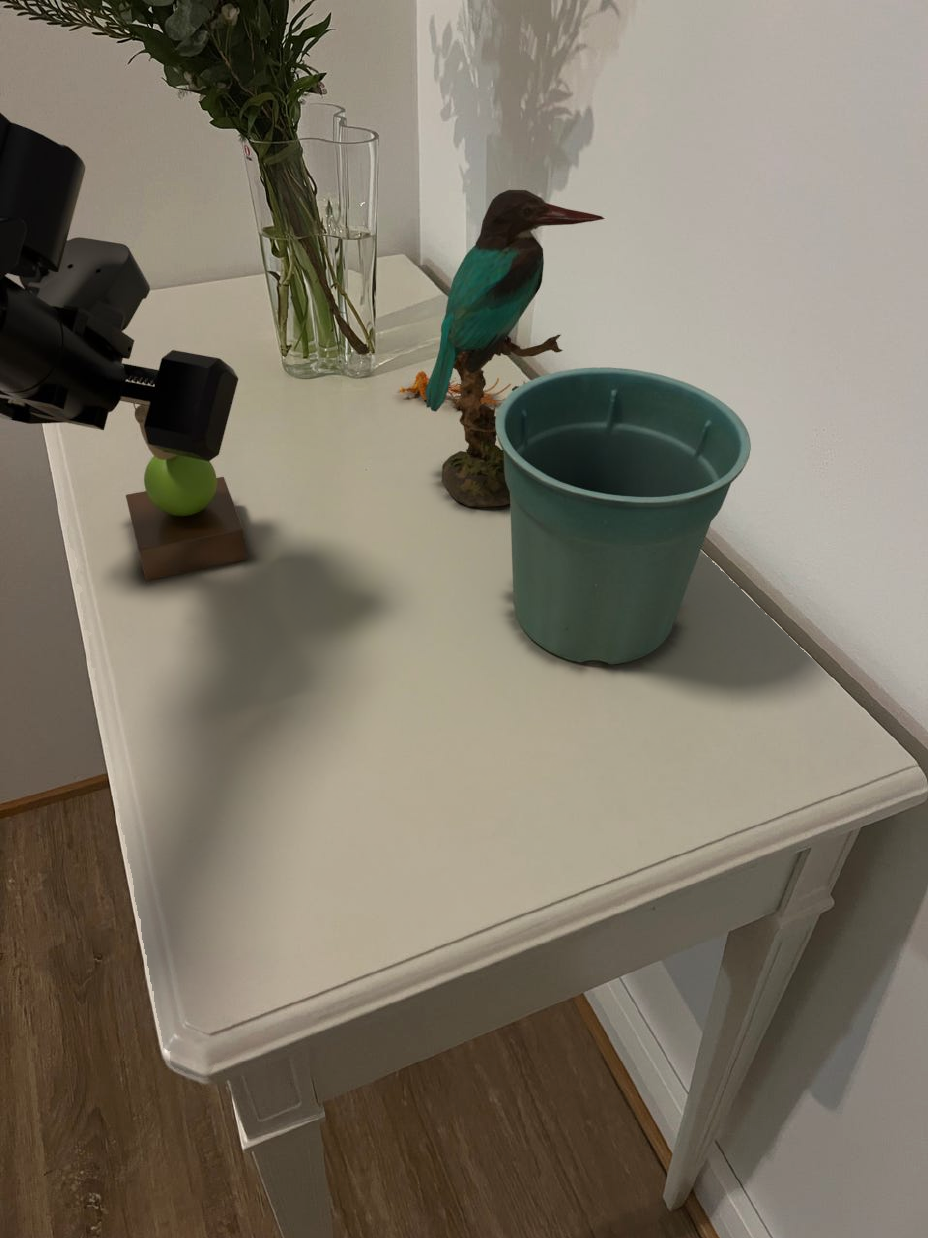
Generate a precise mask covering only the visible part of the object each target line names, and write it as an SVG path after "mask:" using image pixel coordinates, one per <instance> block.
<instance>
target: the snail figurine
mask: <svg viewBox="0 0 928 1238" xmlns="http://www.w3.org/2000/svg"><path fill="white" fill-rule="evenodd" d="M132 404H133V408H134V418H135V421H136V422H137V423H138V424H139V428H140V432H141V435H142V437H143V440H144V442H145V444H146V446H147V448H148V450H149V451H150V452H151V454H152V455H153V456H152V457H151V458H150V460H149V461H148V463H147V465H146V467H145V471H144V476H143V484H144V489H145V491H146V492H147V494H148V496H149V498H150V500H151V501H152V502H153V503H154V505H155V506H157V507H158V508H159V509H160V510H162V511H164V512H166V513H168V514H171V515H175V516H189V515H193V514H196V513H198V512H200V511H202V510H203V509H204V508H206V507H207V506H208V505H209V503H210V502H211V501H212V499H213V497H214V495H215V492H216V487H217V478H218V477H217V472H216V470H215V469H214V465H213V464H212V463H211V460H210V461H204V460H200V459H195V458H190V457H185V456H181V455H176V454H171V453H166V452H163V450H160V449H157V448H155V447H153V446H151V445H149V444H148V441H147V437H146V433H145V428H144V424H145V420H146V416H147V412H148V409H149V406H144V405H138V406H136V404H134V403H132Z"/></svg>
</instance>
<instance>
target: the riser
mask: <svg viewBox="0 0 928 1238" xmlns="http://www.w3.org/2000/svg"><path fill="white" fill-rule="evenodd" d="M216 478H217V487H216V492H215V495H214V497H213V499H212V501H211V502H210V503H209V505H208V506H207V507H206V508H204V509H203V510H202V511H200V512H198V513H196V514H193V515H189V516H175V515H171V514H168V513H166V512H164V511H162V510H160V509H159V508H158V507H157V506H155V505H154V503H153V502H152V501H151V500H150V498H149V496H148V494H147V492H146V490H144V491H139V492H133V493H128V494H126V495H125V499H126V504H127V508H128V512H129V516H130V517H129V518H130V521H131V525H132V529H133V533H134V538H135V543H136V546H137V551H138V556H139V559H140V562H141V565H142V566H141V567H142V570H143V574H144V578H145V580H146V581H152V580H155V579H161V578H165V577H166V578H167V577H169V576H171V577H172V576H175V575H180V574H184V573H189V572H193V571H194V572H195V571H197V570H203V569H208V568H213V567H218V566H221V565H227V564H231V563H236V562H241V561H245V560H248V559H249V554H248V547H247V543H246V542H247V541H246V535H245V529H244V527H243V525H242V521H241V518H240V515H239V513H238V510H237V508H236V506H235V503H234V499H233V498H232V494H231V492H230V489H229V486H228V484H227V481H226V479H225V477H224V476H220V477H216Z"/></svg>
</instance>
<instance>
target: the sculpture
mask: <svg viewBox="0 0 928 1238" xmlns="http://www.w3.org/2000/svg"><path fill="white" fill-rule="evenodd" d="M601 220H605V218H604V217H603V216H602V215H598V214H593V213H590V212H584V211H579V210H575V209H569V208H565V207H561V206H558V205H554V204H551V203H547V202H545V200H544V199H543V198H542V197H540V196H538V195H537V194H535V193H533V192H531V191H529V190H527V189H508V190H505V191H503V192H500V193H498V194H497V195H495V197H494V198H492V201H491V202H490V204H489V206H488V208H487V210H486V213H485V214H484V217H483V219H482V222H481V228H480V234H479V236H478V238H477V240H476V242H475V245H473V246H472V247H471V249H469V251H468V252H467V253H466V255H464V258H463V260H462V261H461V263H460V264H459V267H458V269H457V271H456V273H455V274H454V276H453V279H452V284H451V287H450V290H449V294H448V298H447V302H446V307H445V315H444V316H443V319H442V323H441V325H440V326H441V327H440V334H441V335H440V341H439V348H438V353H437V356H436V360H435V364H434V366H433V370H432V372H431V375H430V377H429V378H430V380H429V382H428V385H427V388H426V392H425V396H426V400H425V402H426V409H427V408H430V410H431V411H432V412H437V411H438V410H439V409H440V407H442V405H443V404H444V402H445V400H446V397H447V394H448V393H447V391H448V388H449V387H450V386H449V383H450V382H451V380H452V376H453V373H454V370H456V372H457V374H458V375H459V377H460V379H461V380H460V382H461V383H460V384H461V385H460V392H461V394H459V396H460V397H458V399H459V400H458V402H456V403H454V405H453V408H454V409H455V410H456V411H457V412H460V413H461V415H460V418H459V420H458V422H459V423H460V424H461V425H462V426H463V431H464V441H465V442H466V443H467V444H468V446H467V449H465V451H464V450H463V451H462V450H459V451H458V452H456V453H454V454H452V455H450V456H449V457H448V458H447V459H446V460H445V461H444V462H443V464H442V466H441V467H442V468H441V483H442V485H443V486H444V488H445V489H446V491H447V492H448V494H449V495H450V497H452V498H453V499H454V500H455V501H456V502H459V503H461V504H463V505H464V506H466V507H475V508H476V507H477V508H480V507H481V508H483V507H484V508H492V507H501V506H502V507H503V506H506V505H508V504H509V505H510V491H509V489H508V486H507V483H506V480H505V471H504V451H503V450H502V448H501V447H499V446H498V445H497V444H496V443H497V433H496V428H495V419H496V415H495V413H496V406H494V407H493V408H491V407H490V406H487V405H485V404H481V402H482V401H481V398H483V397H484V396H485V395H484V392H483V391H484V390H485V389H484V388H486V385H487V382H486V381H487V380H485V379H486V378H485V376H484V373H485V372H484V370H483V368H484V367H485V366H486V365H487V364H488V363H489V362H491V361H492V360H493V357H494V356H495V355H496V356H498V357H500V356H501V357H502V355H503V356H509V355H512V354H514V355H516V356H518V357H522V358H526V357H536V356H538V355H540V354H543V353H546V352H548V351H552V352H554V353H556V354H557V353H561V352H563V349H561V348H560V347H559V344H558V341H557V340H558V339H559V337H561V336H562V334H556V335H555V336H552V337H551V336H550V337H549V338H547V339H546V340H545V341H544V342H542V343H541V344H538V345H534V346H530V347H526V348H521V346H520V345H518V344H516V343H515V342H514V343H513V342H512V338H511V337H510V334H511V332H512V331H513V329H514V328H515V327H516V325H517V324H518V322H519V321H520V319H521V318H522V316H523V314H524V313H525V311H526V310H527V308H528V307H529V305H530V304H531V302H532V301H533V300H534V298H535V296H536V295H537V293H538V292H539V290H540V289H541V286H542V282H543V277H544V276H543V275H544V265H545V260H544V248H543V246H542V245H541V244H540V243H539V241H538V239H537V238H536V237H535V236H534V234H533V233H532V231H533V230H536V229H538V228H539V227H544V226H545V227H547V226H566V225H577V224H583V223H591V222H596V221H601ZM524 383H526V382H525V381H523V384H524ZM518 387H519V385H515V386H514V387H512V389H511V392H513V391H514V390H515V389H516V388H518ZM494 400H495V402H496V400H497V399H494Z"/></svg>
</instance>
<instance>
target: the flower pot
mask: <svg viewBox="0 0 928 1238" xmlns="http://www.w3.org/2000/svg"><path fill="white" fill-rule="evenodd" d="M518 386H519V385H518ZM505 398H506V399H505ZM505 398H504V399H505V400H504V401H501V404H500V405H499V407H498V410H497V411H496V415H495V416H496V419H495V428H496V433H497V435H496V439H497V442H498V443H499V445H500V449H501V450H503V451H504V471H505V480H506V483H507V486H508V489H509V491H510V503H509V506H510V507H509V508H510V535H511V536H510V537H511V566H512V567H511V569H512V595H513V596H512V597H513V598H512V600H513V609H514V615H515V617H516V621H517V622H518V625H519V626H520V628H521V629H522V630H523V632H524V633H525V634H526V635H527V636H528V637H529V638H530V639H531V640H532V641H533V642H534V643H536V644H537V645H539V646H540V647H541V648H543V649H545V650H546V651H548V652H550V653H551V654H553V655H555V656H557V657H561V658H563V659H566V660H569V661H573V662H577V663H583V662H587V661H599V662H604V663H607V664H608V665H619V664H624V663H629V662H633V661H637V660H639V659H641V658H643V657H645V656H648V655H649V654H651V653H652V652H654V651H655V650H657V649H658V648H659V647H661V646H662V645H663V644H664V642H665V641H666V640H667V638H668V637H669V635H670V633H671V632H672V629H673V627H674V624H675V621H676V619H677V616H678V613H679V610H680V607H681V606H682V602H683V599H684V597H685V594H686V591H687V589H688V586H689V583H690V581H691V577H692V575H693V572H694V569H695V567H696V565H697V561H698V558H699V556H700V554H701V553H700V552H701V550H702V547H703V546H704V542H705V539H706V536H707V535H708V531H709V528H710V526H711V524H712V521H713V520H714V519H715V518H716V516H718V514H719V513H720V511H721V509H722V507H723V505H724V502H725V500H726V498H727V495H728V492H729V490H730V487H731V485H732V483H733V482H734V481H735V480H736V479H737V478H738V477H739V476H740V474H742V472H743V470H744V468H745V467H746V465H747V463H748V461H749V458H750V456H751V449H752V447H751V446H752V444H751V443H752V442H751V437H750V434H749V432H748V429H747V427H746V425H745V424H744V421H743V420H742V419H741V418H740V416H739V415H738V414H737V413H736V412H735V411H734V410H733V409H732V408H731V407H730V406H728V405H727V404H726V403H724V402H723V401H722V400H720V399H719V398H717V397H716V396H715V395H712V394H711V393H710V392H707V391H706V390H704V389H702V388H699V387H697V386H695V385H693V384H690V383H688V382H685V381H683V380H680V379H677V378H673V377H670V376H666V375H663V374H658V373H654V372H648V371H643V370H638V369H631V368H624V367H623V368H622V367H621V368H620V367H607V366H605V367H594V366H593V367H583V368H582V367H581V368H572V369H566V370H561V371H555V372H552V373H548V374H543V375H541V376H538V377H535V378H533V379H530V380H529V381H527V382H525V383H524V382H523V384H522V385H520V386H519V387H518V388H516V389H515V390H514V391H511V392H510V393H509V394H508V395H507V396H506V397H505Z"/></svg>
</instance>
